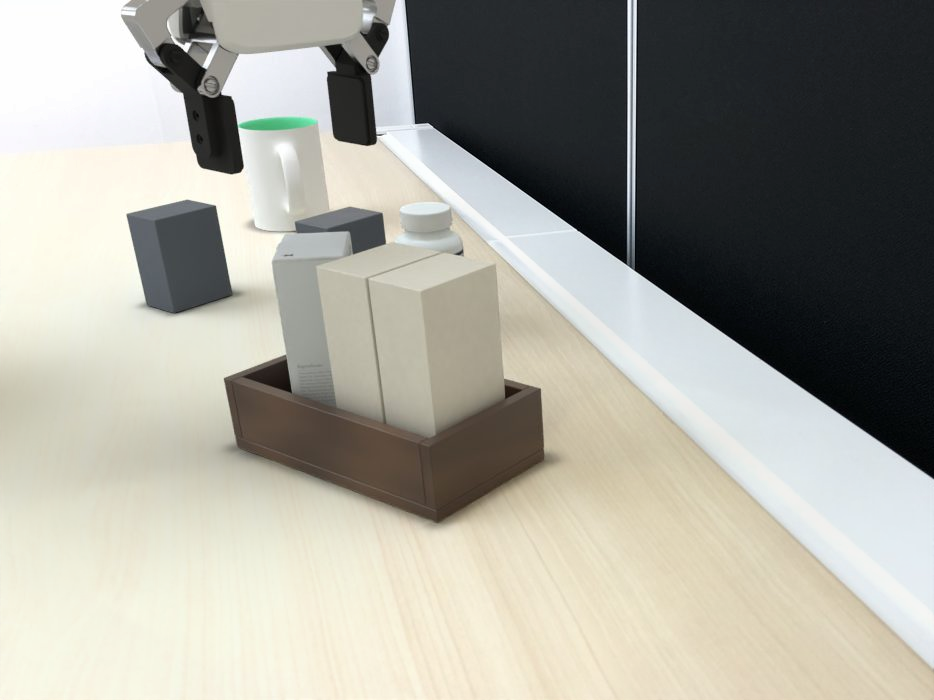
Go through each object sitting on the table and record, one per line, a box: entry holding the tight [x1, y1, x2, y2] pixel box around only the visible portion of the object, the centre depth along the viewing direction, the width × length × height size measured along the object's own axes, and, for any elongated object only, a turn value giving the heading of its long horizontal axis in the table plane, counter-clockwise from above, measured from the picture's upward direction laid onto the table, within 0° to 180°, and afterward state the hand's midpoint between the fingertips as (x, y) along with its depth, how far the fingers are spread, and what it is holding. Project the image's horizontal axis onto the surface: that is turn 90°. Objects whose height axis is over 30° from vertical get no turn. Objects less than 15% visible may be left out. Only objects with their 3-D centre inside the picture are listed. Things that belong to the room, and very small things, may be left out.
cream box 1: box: [316, 241, 441, 424], centre depth 66 cm, size 4×6×12 cm, turn 146°
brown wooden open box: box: [223, 354, 546, 523], centre depth 68 cm, size 18×10×5 cm, turn 56°
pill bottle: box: [394, 201, 465, 257], centre depth 88 cm, size 5×5×10 cm
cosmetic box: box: [271, 231, 353, 408], centre depth 69 cm, size 6×4×12 cm
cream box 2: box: [368, 253, 505, 438], centre depth 64 cm, size 4×6×12 cm, turn 146°
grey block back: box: [125, 199, 233, 314], centre depth 95 cm, size 4×6×8 cm, turn 146°
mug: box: [238, 116, 331, 232], centre depth 117 cm, size 12×8×10 cm, turn 26°
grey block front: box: [295, 206, 387, 254], centre depth 92 cm, size 4×6×8 cm, turn 146°
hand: (292, 155), depth 63 cm, fingers open, 9 cm apart
